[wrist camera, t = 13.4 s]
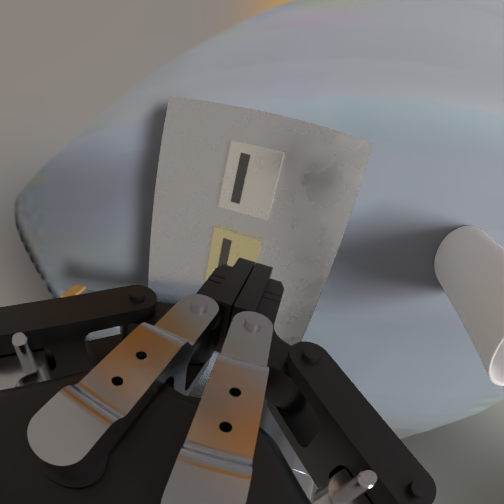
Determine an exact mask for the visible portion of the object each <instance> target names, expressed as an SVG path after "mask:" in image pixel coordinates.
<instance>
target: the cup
mask: <svg viewBox="0 0 504 504" xmlns="http://www.w3.org/2000/svg"><path fill="white" fill-rule="evenodd" d="M434 270H435V274H436V277H437V279H438V281H439V283H440V284H441V286H442V288H443V289H444V291H445V293H446V294H447V296H448V298H449V299H450V301H451V303H452V305H453V306H454V308H455V310H456V312H457V314H458V315H459V317H460V319H461V321H462V323H463V325H464V326H465V328H466V330H467V332H468V334H469V336H470V338H471V340H472V342H473V344H474V346H475V348H476V350H477V352H478V354H479V356H480V359H481V361H482V363H483V365H484V367H485V369H486V372H487V374H488V376H489V378H490V379H491V381H492V382H493V383H494V384H496V385H499V386H504V248H503V247H502V246H500V245H499V244H498V243H497V242H496V241H495V240H493V239H492V238H491V237H490V236H489V235H487V234H486V233H485V232H484V231H482V230H481V229H480V228H478V227H475V226H462V227H459V228H457V229H455V230H453V231H452V232H451V233H449V234H448V235H447V236H446V237H445V238H444V240H443V241H442V242H441V244H440V246H439V248H438V250H437V252H436V256H435V261H434Z"/></svg>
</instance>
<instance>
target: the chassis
mask: <svg viewBox="0 0 504 504" xmlns="http://www.w3.org/2000/svg"><path fill="white" fill-rule="evenodd" d="M372 145H373V143H371V142H368V141H365V140H363V139H360V138H357V137H354V136H351V135H348V134H344V133H341V132H338V131H335V130H332V129H328V128H325V127H321V126H318V125H314V124H311V123H307V122H303V121H300V120H296V119H292V118H288V117H284V116H280V115H275V114H271V113H267V112H262V111H257V110H253V109H248V108H243V107H237V106H232V105H226V104H220V103H214V102H208V101H201V100H194V99H186V98H178V97H169V101H168V107H167V112H166V118H165V123H164V129H163V135H162V142H161V148H160V155H159V162H158V170H157V178H156V186H155V195H154V205H153V215H152V227H151V240H150V256H149V277H148V288H150V289H152V290H153V291H154V292H155V293H156V296H157V301H160V302H163V303H171V304H176V303H177V302H178V301H179V300H180V299H181V298H183V297H184V296H186V295H190V294H196V293H197V292H198V290H199V289H200V288H201V287H202V285H203V284H204V283H205V281H206V280H208V278H209V276H210V275H211V274H212V273H213V271H214V270H215V269H216V268H217V267H219V266H222V265H224V264H225V265H229V266H232V267H233V266H234V264H235V263H236V261H237V260H238V259H239V257H240V258H244V259H247V260H250V261H253V262H256V263H260V264H263V265H267V266H270V267H273V269H272V273H271V277H270V278H271V279H274V280H277V281H281V282H282V285H283V287H284V292H283V295H282V299H281V302H280V306H279V309H278V313H277V316H276V320H275V323H274V329H275V332H276V334H277V335H278V336H279V337H280V338H281V339H282V340H283V341H285V342H286V343H288V344H290V345H294V344H295V343H298V342H301V340H302V338H303V335H304V333H305V331H306V329H307V326H308V324H309V322H310V319H311V317H312V315H313V312H314V310H315V307H316V305H317V303H318V300H319V298H320V295H321V293H322V290H323V288H324V285H325V283H326V280H327V278H328V275H329V273H330V270H331V267H332V265H333V262H334V259H335V257H336V254H337V251H338V249H339V246H340V243H341V240H342V238H343V235H344V232H345V229H346V226H347V224H348V221H349V218H350V215H351V212H352V209H353V206H354V203H355V200H356V197H357V194H358V191H359V188H360V185H361V181H362V178H363V175H364V172H365V168H366V165H367V162H368V158H369V155H370V152H371V148H372Z"/></svg>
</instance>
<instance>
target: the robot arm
mask: <svg viewBox="0 0 504 504" xmlns="http://www.w3.org/2000/svg"><path fill="white" fill-rule="evenodd" d="M272 269H273V267H270V266H267V265H263V264H260V263H256V262H253V261H250V260H247V259H244V258H240V257H239V259H238V260H237V261H236V263H235V264H234V266H233V267H232V266H229V265H225V264H224V265H222V266H219V267H217V268H216V269H215V270H214V271H213V273H212V274H211V275H210V276H209V278H208V280H206V281H205V283H204V284H203V285H202V287H201V288H200V289H199V290H198V292H197V293H196V294H190V295H186V296H184V297H183V298H181V299H180V300H179V301H178V302H177V303H176V304H171V303H163V302H157V296H156V293H155V292H154V291H153V290H152V289H150V288H148V287H145V286H141V285H131V286H126V287H120V288H114V289H108V290H102V291H97V292H91V293H85V294H79V295H73V296H67V297H61V298H55V299H49V300H43V301H37V302H31V303H24V304H18V305H12V306H6V307H0V504H311V502H310V500H311V495H312V488H313V481H314V482H315V484H316V485H317V487H318V489H317V490H316V492H315V494H314V498H313V501H314V502H313V503H314V504H432V503H433V501H434V499H435V496H436V486H435V482H434V480H433V479H432V477H431V476H430V475H429V474H428V472H427V471H426V470H425V469H424V468H423V466H422V465H421V464H420V463H419V462H418V461H417V459H416V458H415V457H414V456H413V455H412V453H411V452H410V451H409V450H408V449H407V447H406V446H405V445H404V444H403V443H402V441H401V440H400V439H399V438H398V437H397V435H396V434H395V433H394V432H393V431H392V430H391V428H390V427H389V426H388V425H387V424H386V422H385V421H384V420H383V419H382V418H381V416H380V415H379V414H378V413H377V412H376V410H375V409H374V408H373V407H372V406H371V404H370V403H369V402H368V401H367V400H366V398H365V397H364V396H363V395H362V394H361V392H360V391H359V390H358V389H357V388H356V386H355V385H354V384H353V383H352V382H351V380H350V379H349V378H348V377H347V376H346V374H345V373H344V372H343V371H342V370H341V368H340V367H339V366H338V365H337V363H336V362H335V361H334V360H333V359H332V357H331V356H330V355H329V354H328V353H327V351H326V350H325V349H323V348H322V347H320V346H319V345H317V344H314V343H311V342H298V343H295V344H294V345H290V344H288V343H286V342H285V341H283V340H282V339H281V338H280V337H279V336H278V335H277V334H276V332H275V329H274V323H275V320H276V316H277V313H278V309H279V306H280V302H281V299H282V295H283V292H284V287H283V285H282V282H281V281H277V280H274V279H271V278H270V277H271V273H272ZM117 326H120V333H121V334H118V335H114V336H109V337H105V338H100V339H96V340H91V341H86V340H85V337H86V336H87V335H88V334H89V333H91V332H93V331H98V330H103V329H108V328H112V327H117ZM214 351H216V352H219V353H220V354H218V355H217V358H216V360H215V363H214V366H213V368H212V371H211V374H210V376H209V379H208V382H207V384H206V387H205V390H204V392H203V395H202V398H197V397H191V396H188V395H189V394H190V392H191V391H192V389H193V388H194V386H195V385H196V383H197V382H198V380H199V379H200V377H201V376H202V374H203V372H204V371H205V369H206V368H207V366H208V364H209V359H210V358H211V356H212V354H213V352H214Z"/></svg>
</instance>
